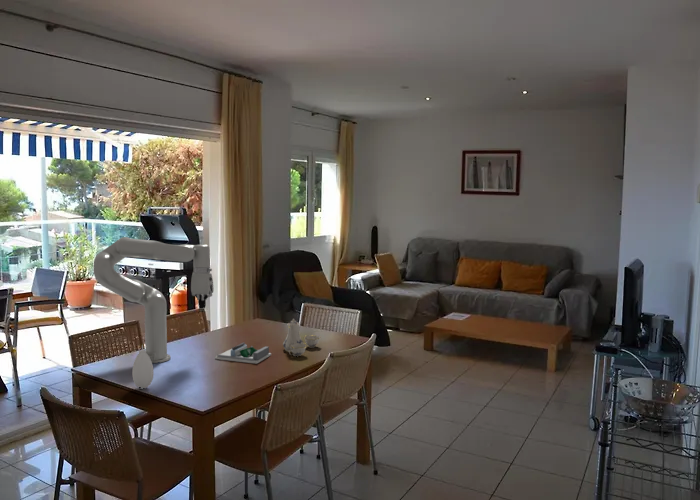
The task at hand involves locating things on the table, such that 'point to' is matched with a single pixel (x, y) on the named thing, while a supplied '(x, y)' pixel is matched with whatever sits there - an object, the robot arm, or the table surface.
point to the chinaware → (298, 340)
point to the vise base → (254, 358)
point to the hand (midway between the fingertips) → (202, 308)
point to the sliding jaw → (238, 349)
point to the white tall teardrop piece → (142, 370)
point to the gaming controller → (247, 351)
